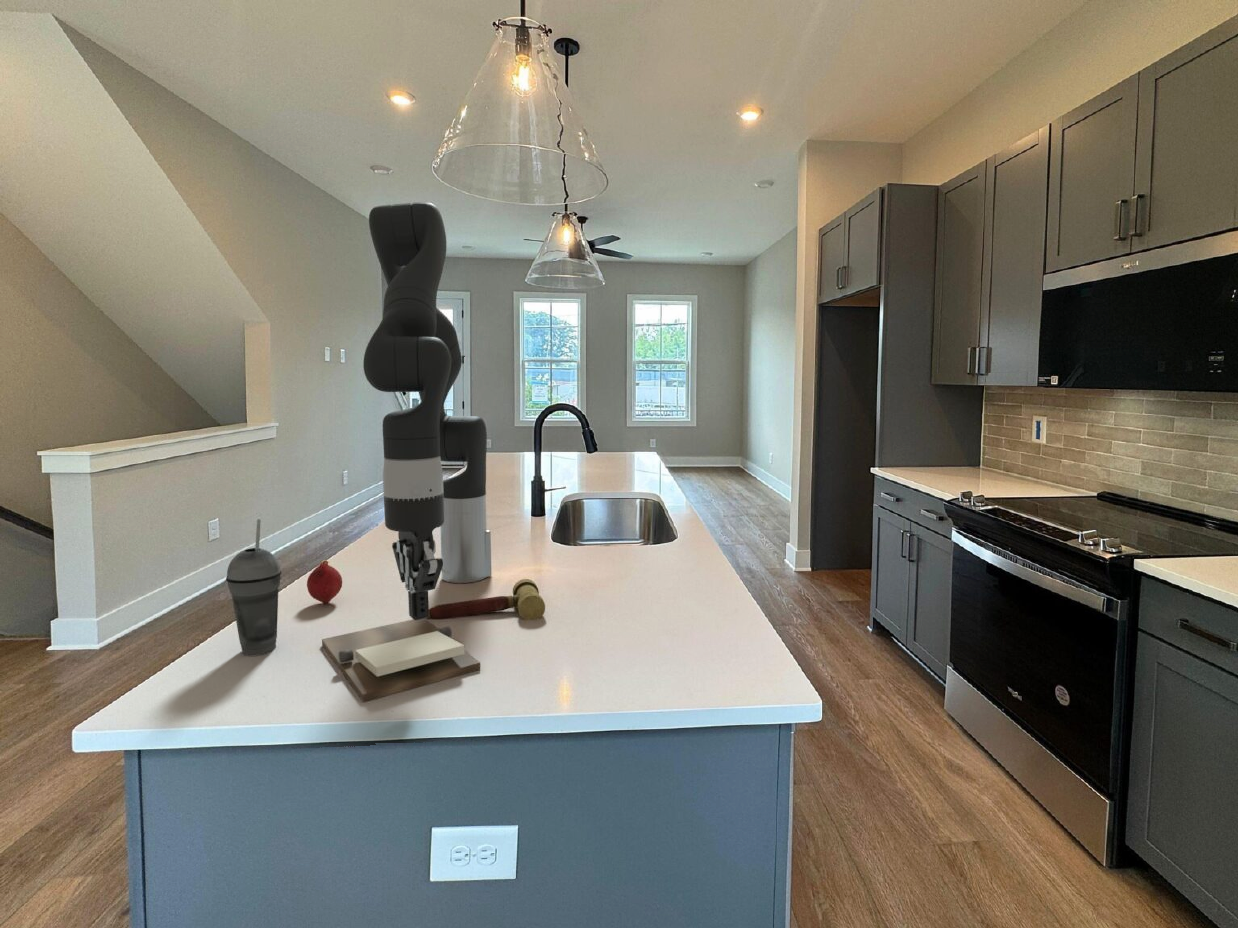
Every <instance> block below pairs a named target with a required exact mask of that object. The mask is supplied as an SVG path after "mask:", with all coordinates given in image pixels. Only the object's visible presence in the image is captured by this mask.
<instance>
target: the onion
mask: <svg viewBox="0 0 1238 928" xmlns="http://www.w3.org/2000/svg"><path fill="white" fill-rule="evenodd" d="M306 587H307V588H306V589H307V592H308V594H309V595H310V597H312V598H313V600H314V599H315V600H317V601H318V602H319V603H323V604H328V603H330V602H331V601H332V600H333V599H334V598H335V597H337V595H338V594H339V593H340V591H341V589H342V588H343V578H342V575H341V574H340V572H339V571H338V570H337V569H336V568H334V567H333V566H331V565H329V561H328V560H327V559H324V560H322V561H320V563H319V565H318V566H317V567H315V568H314V569H313V570H312V572H311V573H310V574H309V575H308V578H307V581H306Z"/></svg>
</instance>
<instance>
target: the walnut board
mask: <svg viewBox="0 0 1238 928" xmlns="http://www.w3.org/2000/svg"><path fill="white" fill-rule="evenodd" d="M436 631H438V632H440V633H442V634H444V635H446V636H448V637H449V638H452V634H453V633H452V629H451V626H445V627H440V628H439V627H437V626H436V625H435V624H433V623H432V622H431V621H430V620H429V619H428V618H424V619H419V620H414V619H413V618H412V619H410V620H409V619H408V620H404V621H399V622H395V623H390V624H386V625H381V626H380V625H379V626H377V627H372V628H367V629H361V630H358V631H353V632H349V633H345V634H340V635H335V636H332V637H331V636H330V637H326V638H322V639H321V643H322V644H321V645H322V647H323V648H324V650H325V652H327V654H328V656H329V657H330V659H331V660H332V661H333V662H334V663H335V665H336V667H337V668H338V669H339V670H340V672H341V673H342V675H343V677H345V679H346V680H347V683H349V685H351V687H352V688H353V690H354V691H355V693H356V694H357V695H358V697H359V698H360V700H361V701H362V702H363V703H365V702H369V701H372V700H373V701H374V700H375V699H376V700H377V699H379V698H383V697H386V696H390V695H394V694H397V693H400V692H404V691H408V690H411V689H415V688H420V687H422V686H425V685H429V684H433V683H436V682H440V681H443V680H448V679H451V678H455V677H458V676H462V675H464V674H469V673H471V672H472V673H473V672H475V671H479V670H481V662H480V661H479V660H478V659H477V658H475V657H474V656H473V655H472V654H470V652H468V651H466V649H464V652H465V654H462V655H458V656H455V657H451V658H447V659H443V660H439V661H436V662H432V663H428V664H424V665H420V666H416V667H413V668H409V669H405V670H401V671H397V672H393V673H390V674H386V675H382V676H378V677H377V676H376V675H374V674H373V673H372V672H371V671H370V670H369V669H367V668H366V667H365V666H364V665H363V664H362V663H360V662H359V661H358V660H357V659H356V653H355V650H358V649H363V648H367V647H371V646H375V645H380V644H384V643H388V642H393V641H397V640H401V639H405V638H410V637H414V636H418V635H423V634H427V633H431V632H436Z"/></svg>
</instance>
